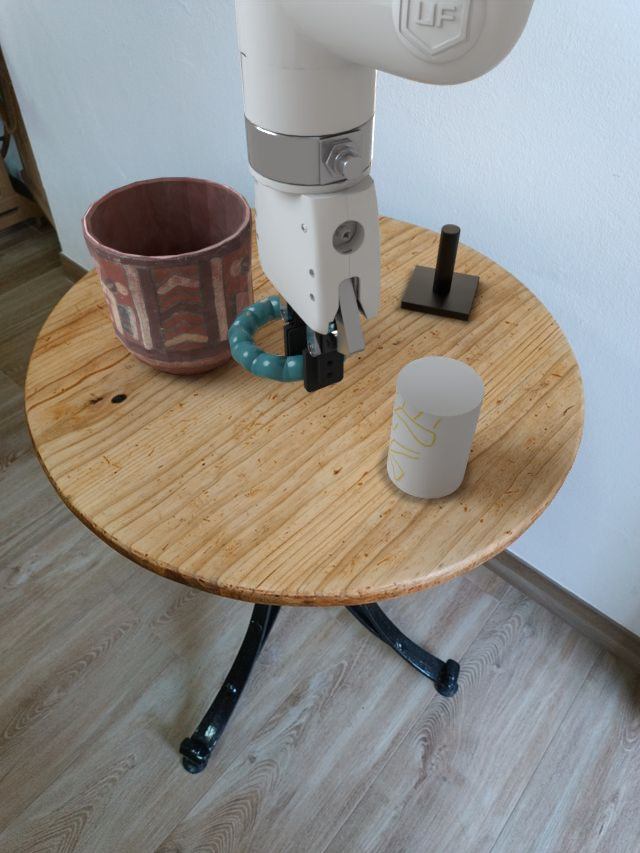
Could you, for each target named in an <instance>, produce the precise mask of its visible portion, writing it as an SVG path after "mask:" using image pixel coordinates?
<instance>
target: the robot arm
mask: <svg viewBox="0 0 640 853" xmlns="http://www.w3.org/2000/svg"><path fill="white" fill-rule="evenodd" d="M233 2H234V12H235V13H234V14H235V23H236V24H235V25H236V37H237V47H238V48H237V49H238V59H239V72H240V83H241V96H242V107H243V116H244V117H243V118H244V130H245V140H246V153H247V163H248V164H247V165H248V167H247V168H248V172H249V174H250V175H251V177H252V178H253V179H254V220H255V234H256V246H257V254H258V259H259V264H260V267H261V269H262V271H263V273H264V275H265V276H266V278H267V279H268V280H269V282H270V283H271V284H272V285H273V286H274V288H275V289H276V290H277V292H278V296H279V299H280V314H281V318H282V319H281V320H282V322H283V323H284V325H283V326H282V329H283V344H284V345H283V346H284V356H286V357H289V356H296V355H302V354H303V378H304V381H303V388H304V389H305V391H306V392H307V393H308V394H309V393H313V392H316V391H319V390H322V389H325V388H327V387H329V386H332V385H335V384H337V383H340V382H341V381H343V379H344V376H345V375H344V374H345V373H344V372H345V371H344V370H345V361H344V355H346V356H347V357H350V356H353V355H355V354H358V353H361V352H363V351H365V349H366V343H365V339H364V334H363V328H362V327H363V326H362V322H361V317H360V314H361V315H362V316H363V317H364V318H365V319H366V320H367V321H369V320H371V319H375V318H377V316H378V314H379V312H380V305H381V302H380V301H381V281H382V280H381V277H382V276H381V275H382V274H381V273H382V271H381V270H382V269H381V268H382V260H381V259H382V257H381V256H382V255H381V254H382V253H381V252H382V251H381V250H382V249H381V227H380V215H379V205H378V196H377V191H376V190H377V189H376V185H375V180H374V179H373V177H372V176H371V175H370V173H371V172H372V169H373V157H374V136H375V119H376V98H377V96H376V95H377V78H378V77H377V76H378V71H379V72H382V73H386V74H388V75H391V76H395V77H398V78H401V79H404V80H407V81H410V82H414V83H418V84H423V85H430V86H437V87H439V86H440V87H443V86H444V87H445V86H448V87H451V86H459V85H463V84H467V83H470V82H473V81H477V80H478V79H480V78H482V77H484V76H485V75H487V74H488V73H490V72H491V71H493V70H494V69H496V68H497V67H498V66H499V65H500V64H501V63H502V62H503V61H505V60H506V58H507V57H508V56H509V55H510V54H511V52H512V51H513V49H514V47H515V46H516V44H517V43H518V42H519V40H520V38H521V37H522V34H523V33H524V30H525V28H526V26H527V23H528V21H529V18H530V15H531V11H532V9H533V6H534V3H535V0H233ZM331 324H334V331H333V332H330V333H328V330H330V328H329V325H331Z"/></svg>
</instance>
